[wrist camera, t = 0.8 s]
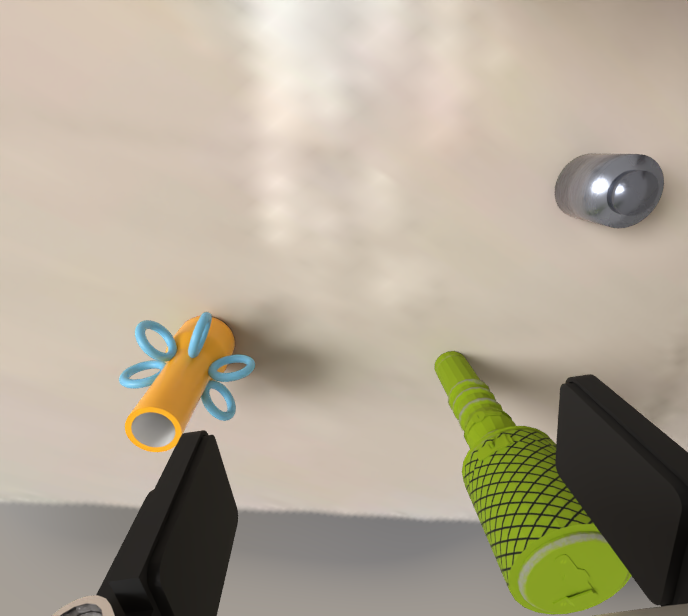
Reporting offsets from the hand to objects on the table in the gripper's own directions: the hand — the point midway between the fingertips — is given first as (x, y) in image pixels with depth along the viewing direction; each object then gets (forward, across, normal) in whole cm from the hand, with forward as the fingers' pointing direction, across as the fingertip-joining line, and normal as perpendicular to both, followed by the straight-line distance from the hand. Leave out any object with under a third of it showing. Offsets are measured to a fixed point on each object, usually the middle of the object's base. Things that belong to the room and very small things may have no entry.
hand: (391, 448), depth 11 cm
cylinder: (+32, +16, +10) cm, 37 cm away
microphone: (+32, -10, +17) cm, 37 cm away
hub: (+31, -24, -1) cm, 40 cm away
